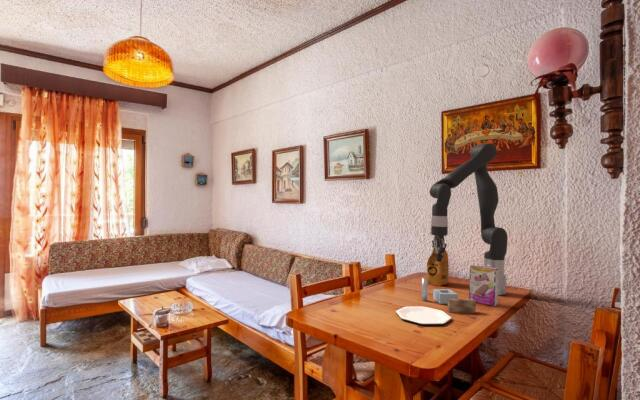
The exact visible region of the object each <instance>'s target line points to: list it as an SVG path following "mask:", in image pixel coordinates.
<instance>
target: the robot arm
mask: <svg viewBox="0 0 640 400" xmlns="http://www.w3.org/2000/svg"><path fill="white" fill-rule="evenodd" d="M497 154H498V149H497V147H496V145H494V144H493V143H489V142H488V143H487V142H486V143H485V142H484V143H481V144H477V145H474V146H473V147H472V148H471V150H470V155H469V156H470V159H468V160H467V161H466V162H464V163H462V164H460V165H459V166H457V167H456V168H454V169H453V170H451V172H449V173H448V174H447V175H446V176H445V177H443V178H441V179H439V180H438V181H436V182H434V183H433V184H432V185H431V187H430V188H429V196H431V197H432V198H433V199H436V203H433V205H432V207H431V221H430V222H431V224H430V225H431V227H430V234H431V236H433V237H434V238H433V240H431V243H432V245H433V247H432V248H433V250H434V251H435V253H436V261H437V262H441V261H442V253H444V251H445V250H446V248H447V245H448V244H447V243H446V241H445V240H446V239H445V237H446V236H448V230H449V228H448V225H449V219H448V210H449V209H448V207H449V206H450V205H449V204H450V200H451V197H452V189H455V188H457V187H458V186H459V185H460V184H461V183H463V182H464V181H465V180H466V179H468V177H469V176H471V175H472V174H474V178H475V179H474V180H475V185H476V193H477V200H478V207H479V215H480V235H481V239H482V241H483V242H484V243H485V244H486V245H489V250H488V251H485V252H484V254H483V266H485V267H492V268H498V269H499V278H498V296H502V295H506V293H507V275H506V274H505V262H506V261H505V258H506V255H507V250H508V232H507V230H506V229H504V228H503V227H499V226H496V224H495V213H496V211H497V207H498V204H499V193H498V188H497V185H496V183H495V181H494V180H493V178H492V177H491V174H490V173H489V171H488V167H487V164H488V163H490V162H492V161H493V160H494V159H495V158H496V157H497Z"/></svg>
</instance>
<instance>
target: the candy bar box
mask: <svg viewBox="0 0 640 400" xmlns="http://www.w3.org/2000/svg"><path fill="white" fill-rule="evenodd" d="M498 278H499V269H498V268H492V267H485V266H484V265H479V264H471V265H470V266H469V291H468V293H469V294H468V295H469V296H468V299H474V300H476V304H481V305H487V306H489V307H490V306H491V307H496V306H498V305H499V295H498Z"/></svg>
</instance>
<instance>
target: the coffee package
mask: <svg viewBox="0 0 640 400" xmlns="http://www.w3.org/2000/svg"><path fill="white" fill-rule="evenodd" d="M431 247H432V248H433V244H432V245H431ZM449 269H450V268H449V255H448V252H447V250H446V249H445V251H444V253H442V261H441V262H437V261H436V253H435V251H434V249H432V252H431V254H430V255H429V257H428V259H427V261H426V276H425V278H427V279H428V285H431V286H435V287H442V286H443V285H444V286H445V285H447V284H448V283H449Z"/></svg>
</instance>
